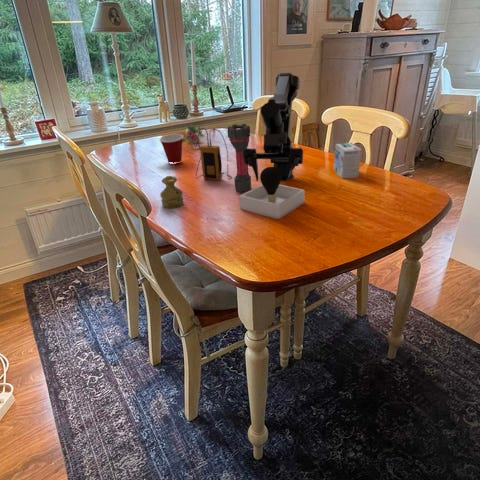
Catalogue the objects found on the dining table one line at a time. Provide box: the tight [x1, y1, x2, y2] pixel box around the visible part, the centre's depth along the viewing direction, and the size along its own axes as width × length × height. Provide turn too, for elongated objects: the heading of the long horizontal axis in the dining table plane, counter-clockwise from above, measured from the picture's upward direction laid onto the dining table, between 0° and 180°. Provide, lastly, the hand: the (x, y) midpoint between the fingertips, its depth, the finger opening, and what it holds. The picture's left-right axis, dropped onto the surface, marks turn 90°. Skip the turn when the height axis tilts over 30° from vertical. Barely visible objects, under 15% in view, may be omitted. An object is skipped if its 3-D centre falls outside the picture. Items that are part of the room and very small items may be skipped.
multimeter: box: [195, 127, 233, 181], centre depth 143 cm, size 15×10×20 cm
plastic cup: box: [158, 133, 184, 163], centre depth 165 cm, size 11×11×12 cm
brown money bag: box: [159, 175, 184, 209], centre depth 122 cm, size 7×7×10 cm
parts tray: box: [239, 184, 306, 220], centre depth 117 cm, size 15×15×4 cm
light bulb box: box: [333, 142, 362, 179], centre depth 139 cm, size 11×7×11 cm, turn 5°
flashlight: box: [227, 123, 252, 193], centre depth 127 cm, size 8×8×23 cm
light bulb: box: [259, 166, 282, 203], centre depth 115 cm, size 7×7×12 cm
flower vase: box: [182, 125, 205, 146], centre depth 198 cm, size 12×12×35 cm
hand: (271, 180), depth 113 cm, fingers open, 9 cm apart
